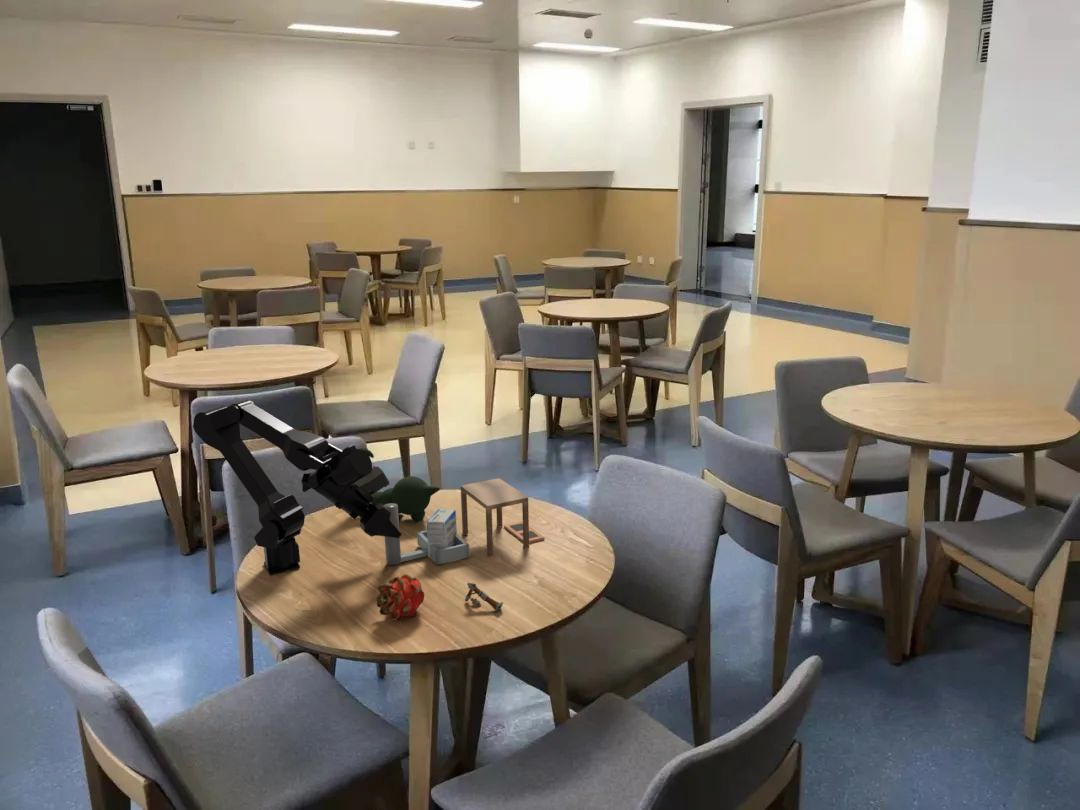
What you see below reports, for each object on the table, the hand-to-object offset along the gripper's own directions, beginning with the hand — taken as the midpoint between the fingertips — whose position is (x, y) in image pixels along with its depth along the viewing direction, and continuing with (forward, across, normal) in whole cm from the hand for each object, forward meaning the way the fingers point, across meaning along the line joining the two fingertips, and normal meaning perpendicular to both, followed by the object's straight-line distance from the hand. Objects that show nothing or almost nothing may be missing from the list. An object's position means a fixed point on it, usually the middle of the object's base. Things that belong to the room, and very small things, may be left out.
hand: (392, 528), depth 176 cm
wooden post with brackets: (+12, -28, 0) cm, 30 cm away
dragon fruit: (+2, -22, +10) cm, 24 cm away
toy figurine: (+12, +25, 0) cm, 27 cm away
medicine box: (+14, 0, -2) cm, 14 cm away
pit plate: (+28, 0, -17) cm, 33 cm away
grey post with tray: (+10, 0, +1) cm, 10 cm away
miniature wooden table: (+23, 0, -11) cm, 25 cm away
